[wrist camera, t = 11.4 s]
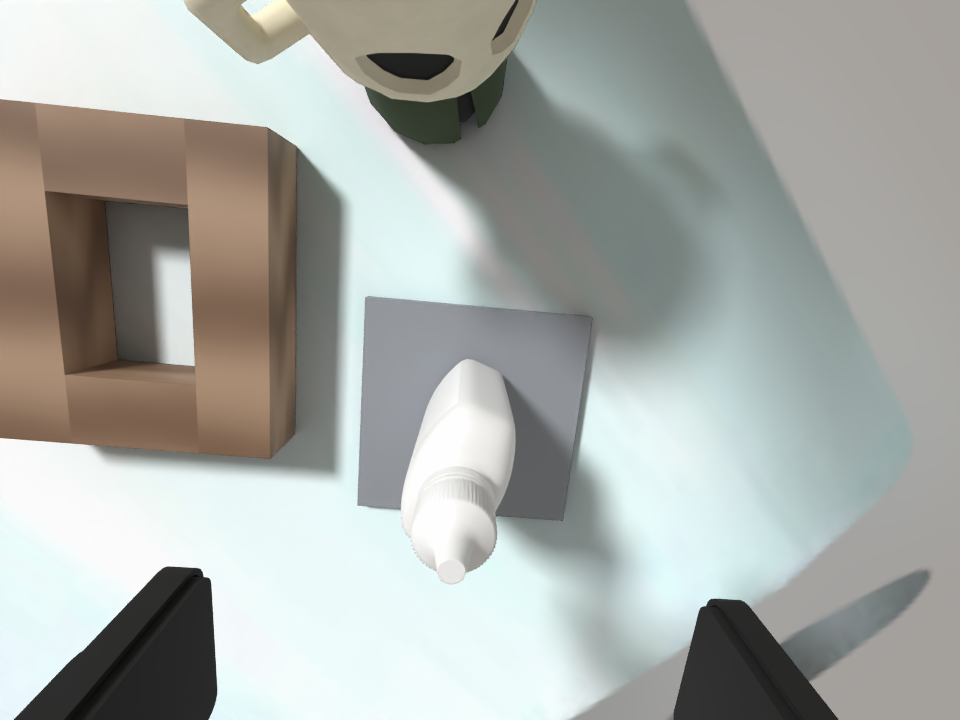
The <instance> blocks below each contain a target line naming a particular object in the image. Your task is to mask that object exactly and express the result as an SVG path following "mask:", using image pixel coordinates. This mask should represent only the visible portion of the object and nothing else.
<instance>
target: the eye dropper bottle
mask: <svg viewBox="0 0 960 720" xmlns="http://www.w3.org/2000/svg"><path fill="white" fill-rule="evenodd" d="M515 440H516V439H515V424H514V419H513V415H512V411H511V407H510V403H509V399H508V395H507V391H506V388H505V384H504V380H503V377H502V375H501V374H500V373H499V372H498V371H497V370H495V369H493V368H491V367H489V366H486V365H484V364H482V363H480V362H477V361H475V360H471V359H466V360H463V361H461V362H460V363H458V364H457V365H456V366H455V367H454V368H453V369H452V370H451V371H450V372H449V373H448V374H447V375H446V376H445V377H444V378H443V380H442V381H441V382H440V384H439V385H438V387H437V388H436V390H435V391H434V393H433V395H432V397H431V399H430V401H429V404H428V406H427V409H426V412H425V415H424V418H423V421H422V424H421V428H420V431H419V434H418V438H417V441H416V444H415V448H414V451H413V454H412V458H411V461H410V464H409V468H408V471H407V475H406V478H405V482H404V487H403V492H402V500H401V520H402V527H403V529H404V532H405V534H406V535H407V536H408V537H409V538H411V543H412V545H411V546H412V547H413V550H414V551H415V554H416V555H417V557H418V558H419V559H420V560H421V561H422V563H424V564H426V566H428V567H429V568H431V569H433V570H435V571H437V574H438V577H439V578H440V580H441V581H443V582H444V583H447V584H456V583H458V582H460V581H461V580H462V579H463V578H464V576H465V574H466V572H469V571H472V570H474V569H476V568H478V567H480V565H482V564H483V563H484V562H486V560H487V559H489V556H491V555H492V552H493V551H494V548H495V544H496V540H497V525H496V515H495V511H496V510H497V508H498V506H499V504H500V503H501V501H502V498H503V496H504V494H505V492H506V489H507V486H508V483H509V480H510V477H511V472H512V468H513V462H514V455H515Z"/></svg>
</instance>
